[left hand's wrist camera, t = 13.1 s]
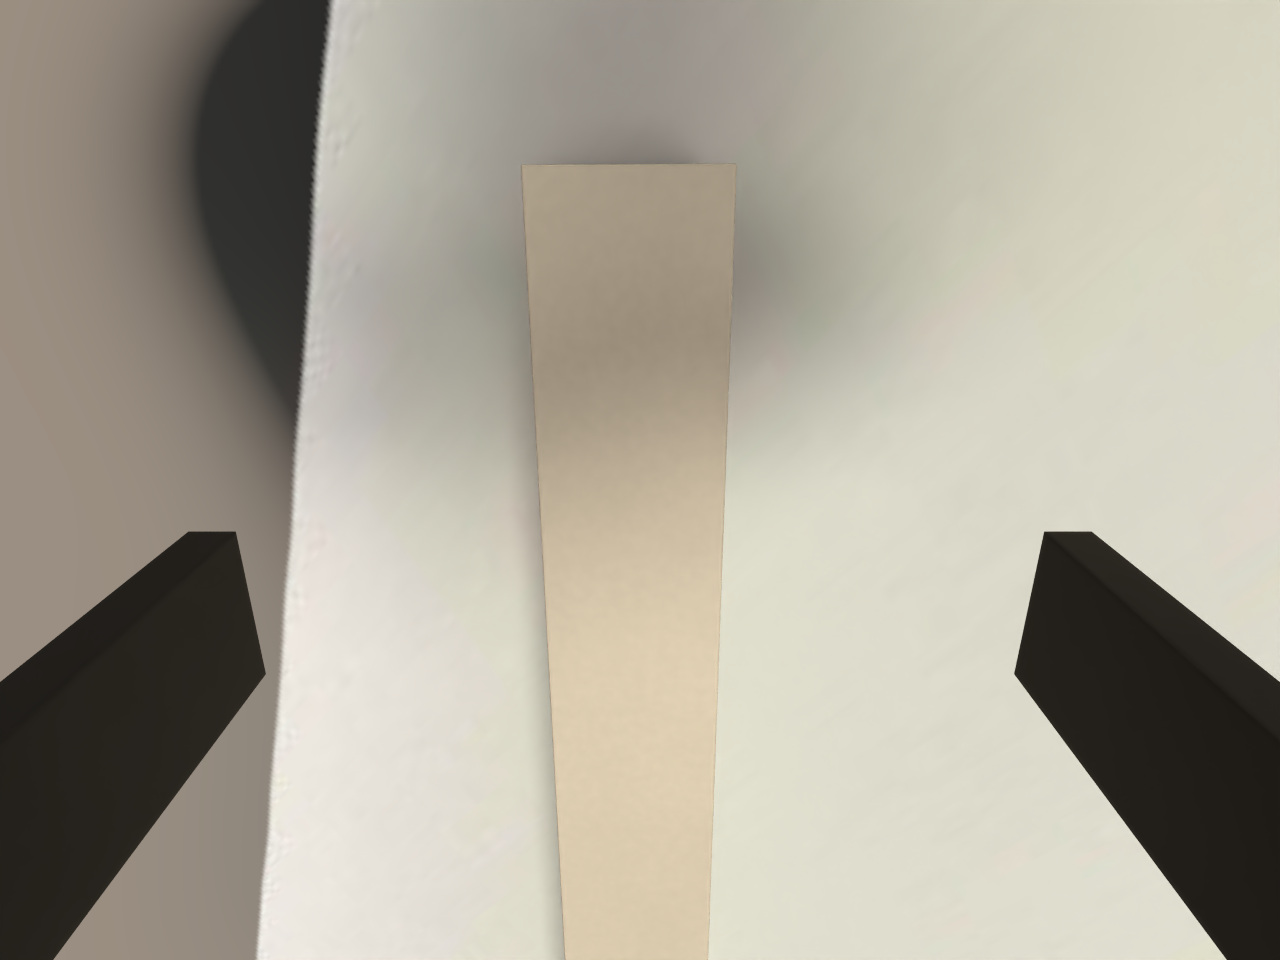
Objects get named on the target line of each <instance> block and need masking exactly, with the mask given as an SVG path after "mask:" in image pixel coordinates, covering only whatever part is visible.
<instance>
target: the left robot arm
mask: <svg viewBox="0 0 1280 960" xmlns="http://www.w3.org/2000/svg"><path fill="white" fill-rule="evenodd" d="M265 674H266V673H265V668H264V664H263V659H262V654H261V649H260V644H259V640H258V635H257V630H256V626H255V621H254V616H253V611H252V607H251V602H250V597H249V593H248V588H247V583H246V578H245V573H244V569H243V564H242V559H241V555H240V550H239V545H238V540H237V536H236V532H188V533H186V534H185V535H184V536H183V537H181V538H180V539H179V540H178V541H176V542H175V543H174V544H172V545H171V546H170V547H169V548H167V549H166V550H165V551H164V552H162V553H161V554H160V555H159V556H157V557H156V558H155V559H154V560H152V561H151V562H150V563H149V564H147V565H146V566H145V567H144V568H142V569H141V570H140V571H139V572H137V573H136V574H135V575H134V576H132V577H131V578H130V579H129V580H127V581H126V582H125V583H124V584H122V585H121V586H120V587H119V588H117V589H116V590H115V591H114V592H112V593H111V594H110V595H109V596H107V597H106V598H105V599H104V600H102V601H101V602H100V603H99V604H97V605H96V606H95V607H94V608H92V609H91V610H90V611H89V612H87V613H86V614H85V615H84V616H82V617H81V618H80V619H79V620H77V621H76V622H75V623H74V624H72V625H71V626H70V627H69V628H67V629H66V630H65V631H64V632H62V633H61V634H60V635H59V636H57V637H56V638H55V639H54V640H52V641H51V642H50V643H49V644H47V645H46V646H45V647H44V648H42V649H41V650H40V651H39V652H37V653H36V654H35V655H34V656H32V657H31V658H30V659H29V660H27V661H26V662H25V663H23V664H22V665H21V666H20V667H19V668H17V669H16V670H15V671H14V672H12V673H11V674H10V675H8V676H7V677H6V678H5V679H3V680H2V681H1V682H0V960H53V959H54V958H55V957H56V955H57V954H58V953H59V951H60V950H61V949H62V947H63V946H64V944H65V943H66V942H67V940H68V939H69V938H70V936H71V935H72V934H73V932H74V931H75V930H76V928H77V927H78V926H79V924H80V923H81V922H82V920H83V919H84V918H85V916H86V915H87V914H88V912H89V911H90V910H91V908H92V907H93V905H94V904H95V903H96V901H97V900H98V899H99V897H100V896H101V895H102V893H103V892H104V891H105V889H106V888H107V887H108V885H109V884H110V883H111V881H112V880H113V879H114V877H115V876H116V875H117V873H118V872H119V871H120V869H121V868H122V867H123V865H124V864H125V862H126V861H127V860H128V858H129V857H130V856H131V854H132V853H133V852H134V850H135V849H136V848H137V846H138V845H139V844H140V842H141V841H142V840H143V838H144V837H145V835H146V834H147V833H148V832H149V830H150V829H151V828H152V826H153V825H154V824H155V822H156V821H157V819H158V818H159V817H160V815H161V814H162V813H163V811H164V810H165V809H166V807H167V806H168V805H169V803H170V802H171V801H172V799H173V798H174V797H175V795H176V794H177V793H178V791H179V790H180V789H181V787H182V786H183V784H184V783H185V782H186V780H187V779H188V778H189V776H190V775H191V774H192V772H193V771H194V770H195V768H196V767H197V766H198V764H199V763H200V762H201V760H202V759H203V758H204V756H205V755H206V754H207V752H208V751H209V750H210V748H211V747H212V746H213V744H214V743H215V742H216V740H217V739H218V737H219V736H220V735H221V733H222V732H223V731H224V729H225V728H226V727H227V725H228V724H229V723H230V721H231V720H232V719H233V717H234V716H235V715H236V713H237V712H238V711H239V709H240V708H241V707H242V705H243V704H244V703H245V701H246V700H247V699H248V697H249V696H250V694H251V693H252V692H253V690H254V689H255V688H256V686H257V685H258V684H259V682H260V681H261V680H262V678H263V677H264V676H265ZM1014 674H1015V676H1016V677H1017V678H1018V680H1019V681H1020V682H1021V684H1022V685H1023V686H1024V688H1025V689H1026V690H1027V692H1028V693H1029V694H1030V696H1031V697H1032V699H1033V700H1034V701H1035V703H1036V704H1037V705H1038V707H1039V708H1040V709H1041V711H1042V712H1043V713H1044V715H1045V716H1046V717H1047V719H1048V720H1049V721H1050V723H1051V724H1052V725H1053V727H1054V728H1055V729H1056V731H1057V732H1058V733H1059V735H1060V736H1061V737H1062V739H1063V740H1064V742H1065V743H1066V744H1067V746H1068V747H1069V748H1070V750H1071V751H1072V752H1073V754H1074V755H1075V756H1076V758H1077V759H1078V760H1079V762H1080V763H1081V764H1082V766H1083V767H1084V768H1085V770H1086V771H1087V772H1088V774H1089V775H1090V776H1091V778H1092V779H1093V780H1094V782H1095V783H1096V785H1097V786H1098V787H1099V789H1100V790H1101V791H1102V793H1103V794H1104V795H1105V797H1106V798H1107V799H1108V801H1109V802H1110V803H1111V805H1112V806H1113V807H1114V809H1115V810H1116V811H1117V813H1118V814H1119V815H1120V817H1121V818H1122V819H1123V821H1124V822H1125V824H1126V825H1127V826H1128V828H1129V829H1130V830H1131V832H1132V833H1133V834H1134V836H1135V837H1136V838H1137V840H1138V841H1139V842H1140V844H1141V845H1142V846H1143V848H1144V849H1145V850H1146V852H1147V853H1148V854H1149V856H1150V857H1151V858H1152V860H1153V861H1154V862H1155V864H1156V865H1157V867H1158V868H1159V869H1160V871H1161V872H1162V873H1163V875H1164V876H1165V877H1166V879H1167V880H1168V881H1169V883H1170V884H1171V885H1172V887H1173V888H1174V889H1175V891H1176V892H1177V893H1178V895H1179V896H1180V897H1181V899H1182V900H1183V901H1184V903H1185V904H1186V905H1187V907H1188V908H1189V910H1190V911H1191V912H1192V914H1193V915H1194V916H1195V918H1196V919H1197V920H1198V922H1199V923H1200V924H1201V926H1202V927H1203V928H1204V930H1205V931H1206V932H1207V934H1208V935H1209V936H1210V938H1211V939H1212V940H1213V942H1214V943H1215V944H1216V946H1217V947H1218V949H1219V950H1220V951H1221V953H1222V954H1223V955H1224V957H1225V958H1226V959H1227V960H1280V682H1279V681H1278V680H1277V679H1275V678H1274V677H1273V676H1272V675H1270V674H1269V673H1268V672H1267V671H1265V670H1264V669H1263V668H1262V667H1260V666H1259V665H1258V664H1257V663H1255V662H1254V661H1253V660H1252V659H1250V658H1249V657H1248V656H1247V655H1245V654H1244V653H1243V652H1241V651H1240V650H1239V649H1238V648H1236V647H1235V646H1234V645H1233V644H1231V643H1230V642H1229V641H1228V640H1226V639H1225V638H1224V637H1223V636H1221V635H1220V634H1219V633H1218V632H1216V631H1215V630H1214V629H1213V628H1211V627H1210V626H1209V625H1208V624H1206V623H1205V622H1204V621H1203V620H1201V619H1200V618H1199V617H1198V616H1196V615H1195V614H1194V613H1193V612H1191V611H1190V610H1189V609H1188V608H1186V607H1185V606H1184V605H1183V604H1181V603H1180V602H1179V601H1178V600H1176V599H1175V598H1174V597H1173V596H1171V595H1170V594H1169V593H1168V592H1166V591H1165V590H1164V589H1163V588H1161V587H1160V586H1159V585H1158V584H1156V583H1155V582H1154V581H1153V580H1151V579H1150V578H1149V577H1148V576H1146V575H1145V574H1144V573H1143V572H1141V571H1140V570H1139V569H1138V568H1136V567H1135V566H1134V565H1133V564H1131V563H1130V562H1129V561H1128V560H1126V559H1125V558H1124V557H1123V556H1121V555H1120V554H1119V553H1118V552H1116V551H1115V550H1114V549H1113V548H1111V547H1110V546H1109V545H1108V544H1106V543H1105V542H1104V541H1103V540H1101V539H1100V538H1099V537H1098V536H1096V535H1095V534H1094V533H1093V532H1044V536H1043V540H1042V545H1041V550H1040V554H1039V559H1038V564H1037V569H1036V573H1035V578H1034V583H1033V588H1032V592H1031V597H1030V602H1029V607H1028V611H1027V616H1026V621H1025V626H1024V630H1023V635H1022V640H1021V644H1020V649H1019V654H1018V659H1017V663H1016V668H1015V673H1014Z"/></svg>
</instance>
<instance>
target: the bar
mask: <svg viewBox="0 0 1280 960" xmlns="http://www.w3.org/2000/svg"><path fill="white" fill-rule="evenodd" d="M736 169H737V165H736V164H561V165H521V176H522V194H523V212H524V230H525V248H526V266H527V284H528V302H529V320H530V338H531V356H532V374H533V392H534V410H535V428H536V447H537V465H538V483H539V501H540V519H541V537H542V555H543V573H544V591H545V609H546V627H547V645H548V663H549V681H550V699H551V717H552V735H553V753H554V771H555V789H556V807H557V825H558V843H559V861H560V879H561V897H562V915H563V933H564V951H565V960H708V942H709V915H710V887H711V859H712V832H713V804H714V776H715V749H716V721H717V694H718V666H719V638H720V611H721V583H722V555H723V528H724V500H725V473H726V445H727V417H728V390H729V362H730V334H731V307H732V279H733V251H734V224H735V196H736Z"/></svg>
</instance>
